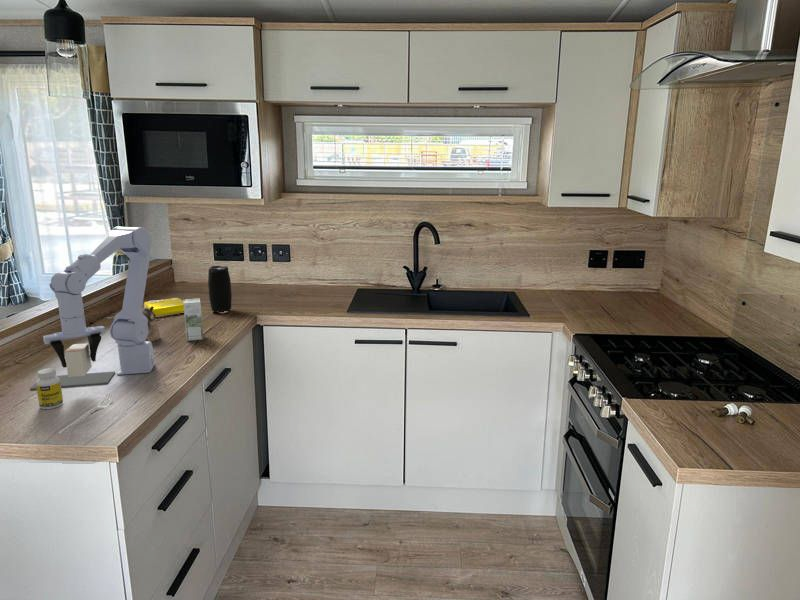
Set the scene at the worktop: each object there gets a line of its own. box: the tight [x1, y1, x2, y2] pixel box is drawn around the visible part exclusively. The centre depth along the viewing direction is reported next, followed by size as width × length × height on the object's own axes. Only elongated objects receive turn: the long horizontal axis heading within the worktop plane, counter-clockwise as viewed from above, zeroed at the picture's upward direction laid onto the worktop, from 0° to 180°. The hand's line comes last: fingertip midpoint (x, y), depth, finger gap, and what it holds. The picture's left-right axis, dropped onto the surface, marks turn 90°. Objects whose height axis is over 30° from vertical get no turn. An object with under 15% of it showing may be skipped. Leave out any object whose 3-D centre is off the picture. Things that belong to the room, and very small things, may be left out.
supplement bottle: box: [35, 367, 64, 410], centre depth 149 cm, size 5×5×10 cm
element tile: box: [143, 297, 184, 316], centre depth 242 cm, size 15×15×5 cm
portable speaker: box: [207, 265, 233, 313], centre depth 240 cm, size 9×9×20 cm
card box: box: [64, 342, 92, 377], centre depth 156 cm, size 4×7×7 cm, turn 14°
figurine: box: [142, 306, 161, 342], centre depth 204 cm, size 7×7×12 cm
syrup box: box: [182, 298, 204, 342], centre depth 204 cm, size 6×6×14 cm
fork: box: [57, 393, 116, 434], centre depth 144 cm, size 3×20×2 cm, turn 171°
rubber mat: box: [29, 370, 116, 391], centre depth 166 cm, size 20×9×1 cm, turn 104°
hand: (79, 363), depth 156 cm, fingers closed on card box, 6 cm apart
